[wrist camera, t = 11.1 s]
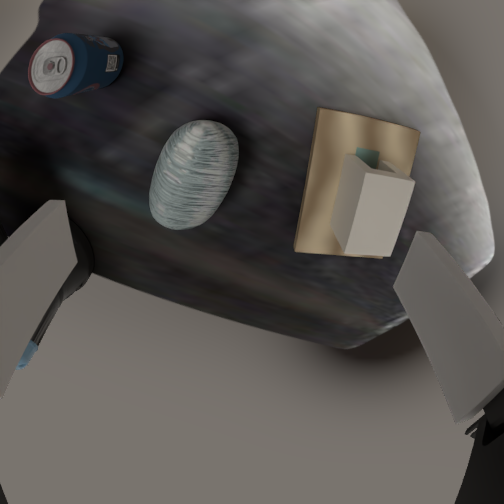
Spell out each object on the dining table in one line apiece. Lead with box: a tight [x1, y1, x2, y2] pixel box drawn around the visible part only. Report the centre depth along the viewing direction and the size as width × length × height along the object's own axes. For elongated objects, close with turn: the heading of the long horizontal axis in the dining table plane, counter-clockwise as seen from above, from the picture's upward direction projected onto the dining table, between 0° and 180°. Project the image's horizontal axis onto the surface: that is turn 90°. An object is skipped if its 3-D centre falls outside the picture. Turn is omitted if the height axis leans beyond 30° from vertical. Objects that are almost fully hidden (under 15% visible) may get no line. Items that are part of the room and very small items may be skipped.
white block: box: [330, 154, 415, 257], centre depth 34 cm, size 6×10×7 cm, turn 175°
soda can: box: [28, 33, 123, 98], centre depth 23 cm, size 7×7×12 cm
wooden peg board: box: [294, 107, 420, 259], centre depth 36 cm, size 14×20×6 cm
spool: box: [149, 120, 239, 230], centre depth 34 cm, size 14×10×10 cm
